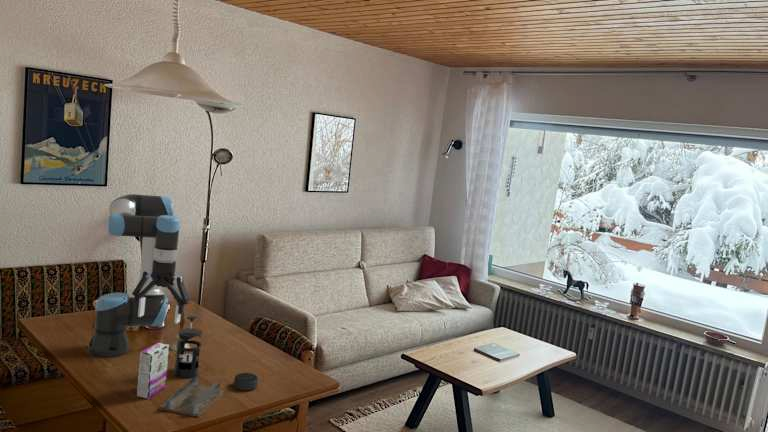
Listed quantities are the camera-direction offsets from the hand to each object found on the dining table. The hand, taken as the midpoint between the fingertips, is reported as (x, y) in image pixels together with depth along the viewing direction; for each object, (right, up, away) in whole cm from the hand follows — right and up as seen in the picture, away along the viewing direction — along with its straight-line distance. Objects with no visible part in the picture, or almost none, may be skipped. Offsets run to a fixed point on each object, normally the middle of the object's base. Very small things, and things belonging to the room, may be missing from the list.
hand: (158, 319), depth 205 cm
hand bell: (-9, -21, +47) cm, 52 cm away
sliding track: (+12, -29, +1) cm, 31 cm away
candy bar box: (-4, -27, +3) cm, 27 cm away
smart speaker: (+26, -29, +18) cm, 43 cm away
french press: (+2, -25, +22) cm, 34 cm away
